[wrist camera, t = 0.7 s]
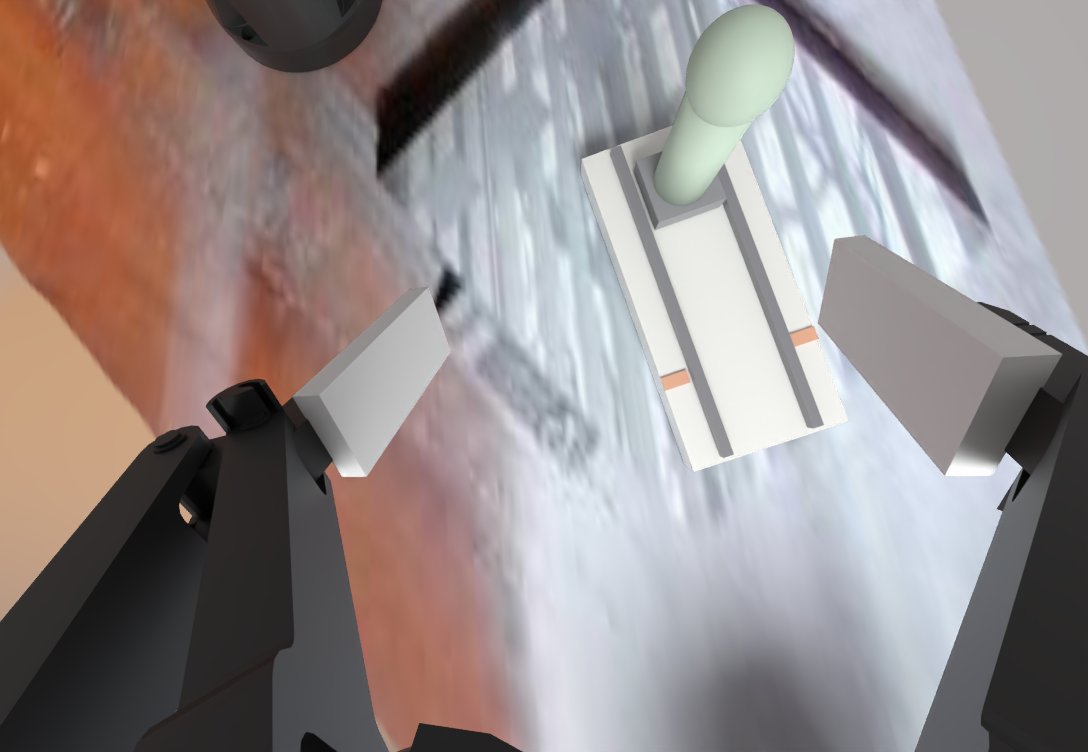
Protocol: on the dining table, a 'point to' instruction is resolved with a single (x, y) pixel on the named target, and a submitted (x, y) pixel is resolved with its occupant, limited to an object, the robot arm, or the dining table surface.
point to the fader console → (714, 311)
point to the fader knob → (716, 111)
